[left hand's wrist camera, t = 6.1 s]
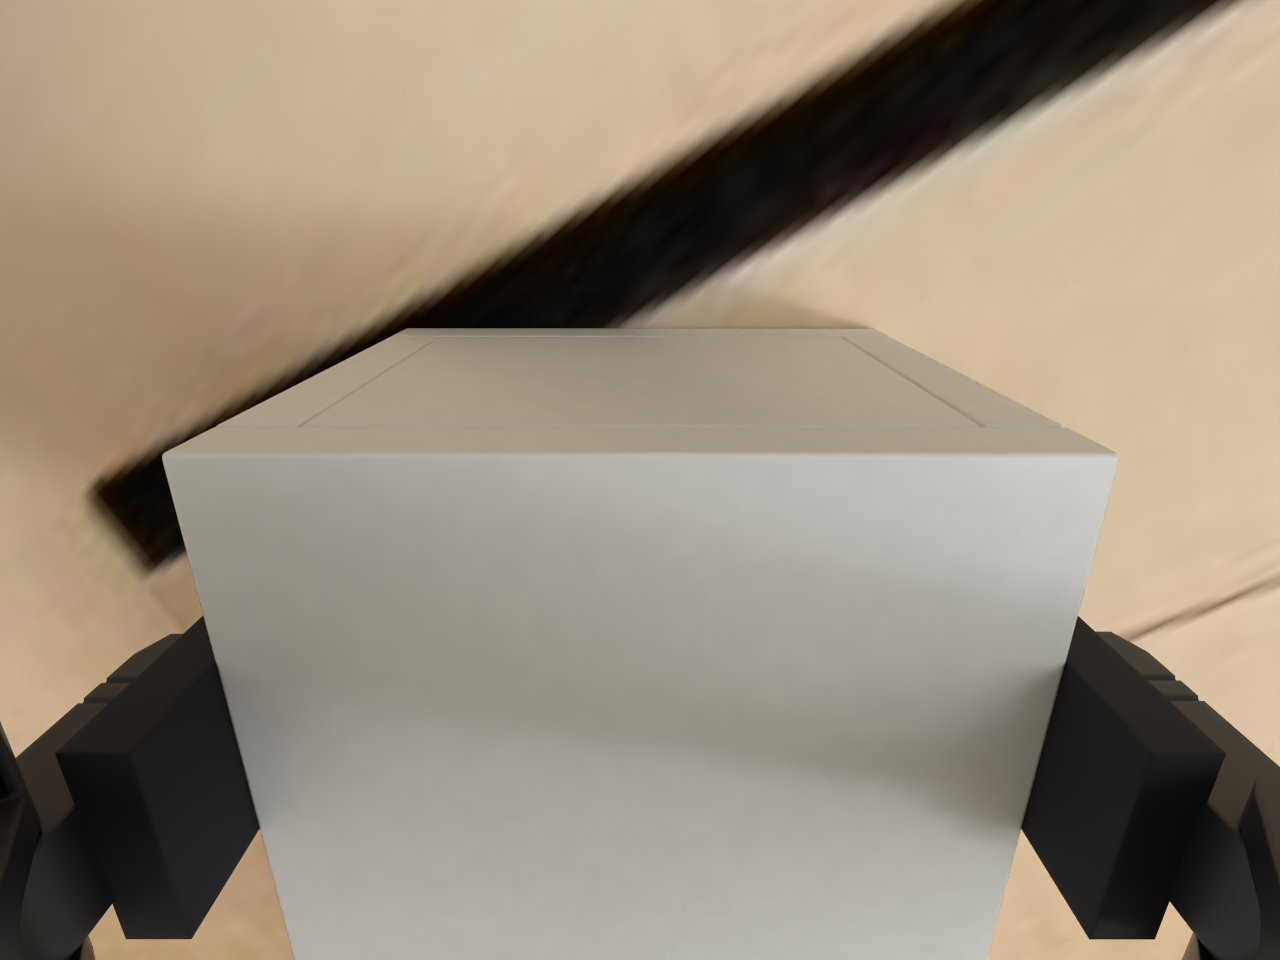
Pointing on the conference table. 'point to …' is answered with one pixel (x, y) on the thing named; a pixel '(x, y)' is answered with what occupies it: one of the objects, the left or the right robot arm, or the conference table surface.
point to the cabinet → (640, 641)
